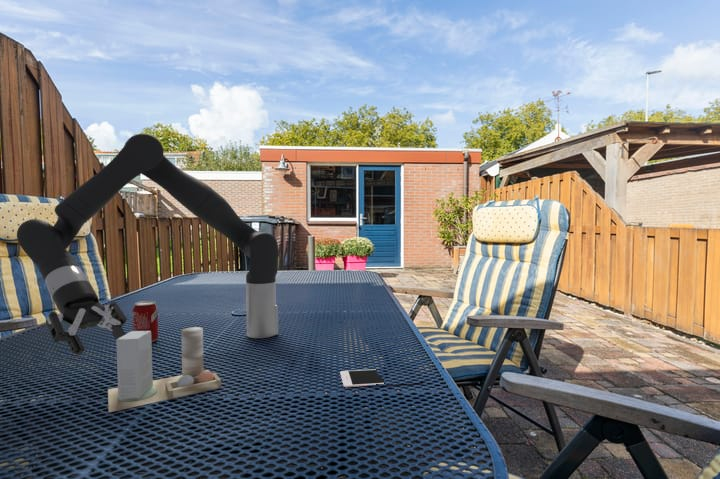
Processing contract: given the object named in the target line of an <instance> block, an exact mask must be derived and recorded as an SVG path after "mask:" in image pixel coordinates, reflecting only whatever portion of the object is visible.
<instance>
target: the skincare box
mask: <svg viewBox="0 0 720 479" xmlns="http://www.w3.org/2000/svg"><path fill="white" fill-rule="evenodd" d="M125 334H126V335H124V336H122V337H120V338H118V339H117V340H115V344H116V346H115V347H116V366H117V367H116V370H117V372H116V374H117V388H118V398H119V399H137V398H140V397H141V396H142V395H143V394H145V393H146V392H147V391H148V390H149V389H150V388H151V387H152V386H153V381H154V379H153V378H154V377H153V351H152V350H153V348H152V342H151V331H133V330H132V331H131V330H130V331H129V332H127V333H125Z"/></svg>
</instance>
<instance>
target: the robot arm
mask: <svg viewBox="0 0 720 479" xmlns="http://www.w3.org/2000/svg"><path fill="white" fill-rule="evenodd" d="M164 152H165V151H164V146H163V144H162V143H161V141H160V140H159V139H158V138H157V137H155V136H154V135H151V134H149V133H137V134H134V135H132V136H131V137H129V138H128V139H127V140H126V142H125V143H124V145H123V147H122V148H121V149H120V151H119V152H118V153H117V154H116V156H114V157H113V159H112V160H110V161H109V162H108V164H106V166H104V167H103V168H102V169H100V171H98V172H97V173H96V174H94V175H93V176H92V177H90V178H89V179H88V180H86V181H85V182H84V183H83V184H81V185H80V186H79V187H77V188H76V189H74V191H72V192H71V193H70V194H69V195H68V196H66V197H65V198H64V199H63V200H61V201H60V202H59V203H58V204H57V205H56V206H55V207H54V213H55V215H56V216H57V218H58V219H57V220H56V221H55V223H54V225H52V224H50V222H47V221H46V220H43V219H39V218H38V219H37V218H34V219H33V218H31V219H29V220H25V221H24V222H22V223H21V224H20V225H19V226H18V228H17V230H16V239H17V242H18V244H19V246H20V248H21V249H22V250H23V251H24V253H25V254H26V255H27V257H28V258H29V259H30V260H32V262H33V263H34V264H35V265H36V267H37V268H38V271H39V272H40V275H41V276H42V278H43V281H44V283H45V284H46V288H47V291H48V293H49V295H50V297H51V298H52V301H53V302H54V304H55V306H56V308H57V310H58V312H59V313H57V312H55V311H51V312H50V313H49V314H48V316H47V318H46V319H45V324H46V326H47V328H48V331H49V334H50V335H51V338H52V341H53V342H55V343H59V342H61V341H62V342H65V343H67V344H68V347H69V349H70V351H71V353H73V354H74V355H76V356H80V355H82V354H83V353H84V351H85V346H84V344H83V343H82V341H81V338H80V337H79V335H78V334H76V333H77V331H78V330H79V329H80V330H86V329H87V328H94V327H100V328H101V329H107V330H109V331H110V332H111V333H112V336H113V338H114V340H115V341H116V340H117V339H118V338H120V337H122V336H124V335H126V334H127V333H126V332H125V331H124V329H123V327H124V325H125V323H126V322H127V321H128V318H127V316H126V315H125V314H124V312H123V311H122V309H121V308H120V306H119V304H118V303H117V302H116V301H112V302H110V304H106V305H103V304H102V303H100V299H99V296H98V294H97V293H96V291H95V289H94V287H93V286H92V284H91V282H90V281H89V278H88V277H87V276H86V274H85V273H84V271H83V270H82V269H81V267H80V266H79V264H78V262H77V260H76V259H75V257H74V255H72V254H71V252H69V251H68V250H67V249H68V248H69V247H70V245H71V244H72V243H73V241H74V240H75V238H76V236H77V235H78V234H79V232H80V231H81V229H82V227H83V226H84V225H85V224H86V223H87V222H89V220H91V219H92V218H93V217H94V216H95V215H96V214H98V212H99V211H101V210H102V209H103V208H104V207H105V206H106V205H107V204H109V202H110V201H111V200H112V199H113V198H114V197H115V196H116V195H117V194H118V193H119V192H120V191H121V190H122V189H123V188H124V187H126V186H127V185H128V184H129V183H130V182H131V181H133V179H135V178H136V177H138V176H140V175H143V176H144V177H146V178H147V179H149V180H151V181H152V182H154V183H155V184H156V185H158V186H160V187H161V188H162V189H164V190H165V191H166V192H167V193H168V194H169V195H170V196H171V197H172V198H173V199H175V200H176V201H177V202H178V203H179V204H181V205H182V206H183V207H184V208H185V209H187V210H188V212H190V213H191V214H193V216H196V217H197V218H198V219H199V220H200V221H202V222H203V223H205V224H206V225H208V226H210V228H212V229H213V230H215V231H216V232H219V233H220V234H222V235H223V236H224V237H226V238H227V239H228V240H229V241H231V242H232V244H234V245H235V246H236V247H237V248H239V250H240V251H241V252H242V253H243V254H244V255H245V256H246V257H248V258H249V269H248V272H247V273H246V275H245V292H246V297H245V299H246V304H245V305H246V306H245V307H246V308H245V309H246V312H245V313H246V337H248V338H251V339H265V338H271V337H274V336H276V335H279V306H278V304H277V301H276V300H277V297H276V295H277V294H276V293H277V292H276V290H277V289H276V287H277V286H276V284H277V281H276V277H277V274H278V270H279V245H278V244H279V243H278V241H277V239H276V237H275V236H274V235H273V234H272V233H269V232H262V231H261V232H260V231H258V230H257V229H255V228H253V227H252V226H251V225H249V224H248V223H247V222H245V221H244V220H242V218H240V216H239V215H238V213H236V211H235V210H234V208H233V207H232V206H231V205H230V203H229V202H228V201H227V200H226V199H225V198H224V197H223V196H221V195H220V194H219V193H218V192H216V190H214V189H213V187H211V186H209V185H208V184H206V183H205V182H203V181H201V180H200V179H198V178H196V177H195V176H192V175H190V174H188V173H187V172H185V171H184V170H181V169H180V168H179V167H178V166H176V165H175V164H174V163H173V162H172V161H170V159H168V158H167V157H166V156H165V155H164V154H165V153H164ZM103 319H104V321H102V320H103ZM62 321H63V322H65V323H67V324H69V328H68V329H67V331H65V330H64V328H63V325H62V324H61V322H62Z"/></svg>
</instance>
